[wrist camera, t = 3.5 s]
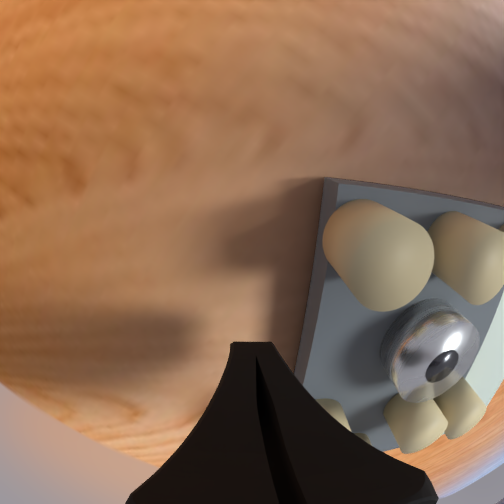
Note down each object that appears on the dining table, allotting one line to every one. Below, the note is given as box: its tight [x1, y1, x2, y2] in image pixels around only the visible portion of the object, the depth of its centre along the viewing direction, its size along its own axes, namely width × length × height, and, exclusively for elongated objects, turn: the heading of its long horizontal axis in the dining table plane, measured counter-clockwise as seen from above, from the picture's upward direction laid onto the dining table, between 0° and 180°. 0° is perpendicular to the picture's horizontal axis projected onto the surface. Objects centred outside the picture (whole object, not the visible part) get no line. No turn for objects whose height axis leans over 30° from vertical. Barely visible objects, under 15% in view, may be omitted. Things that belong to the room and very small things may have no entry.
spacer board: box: [294, 177, 504, 454], centre depth 12 cm, size 15×15×4 cm
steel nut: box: [379, 298, 480, 403], centre depth 11 cm, size 4×4×2 cm
